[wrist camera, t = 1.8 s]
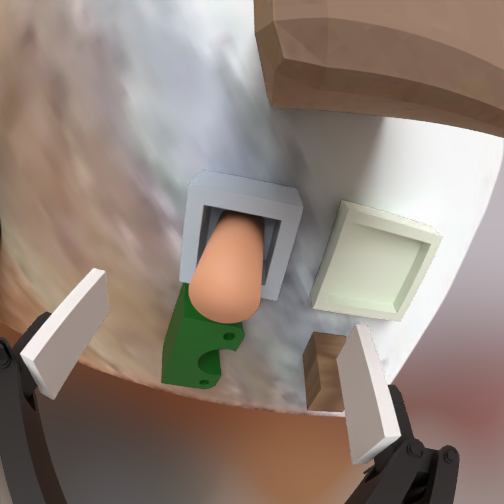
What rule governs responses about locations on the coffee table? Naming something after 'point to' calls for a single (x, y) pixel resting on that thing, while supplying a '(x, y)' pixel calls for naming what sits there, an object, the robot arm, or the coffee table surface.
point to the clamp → (195, 345)
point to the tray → (373, 263)
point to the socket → (248, 201)
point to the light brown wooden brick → (323, 372)
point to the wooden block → (386, 58)
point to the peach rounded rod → (230, 269)
